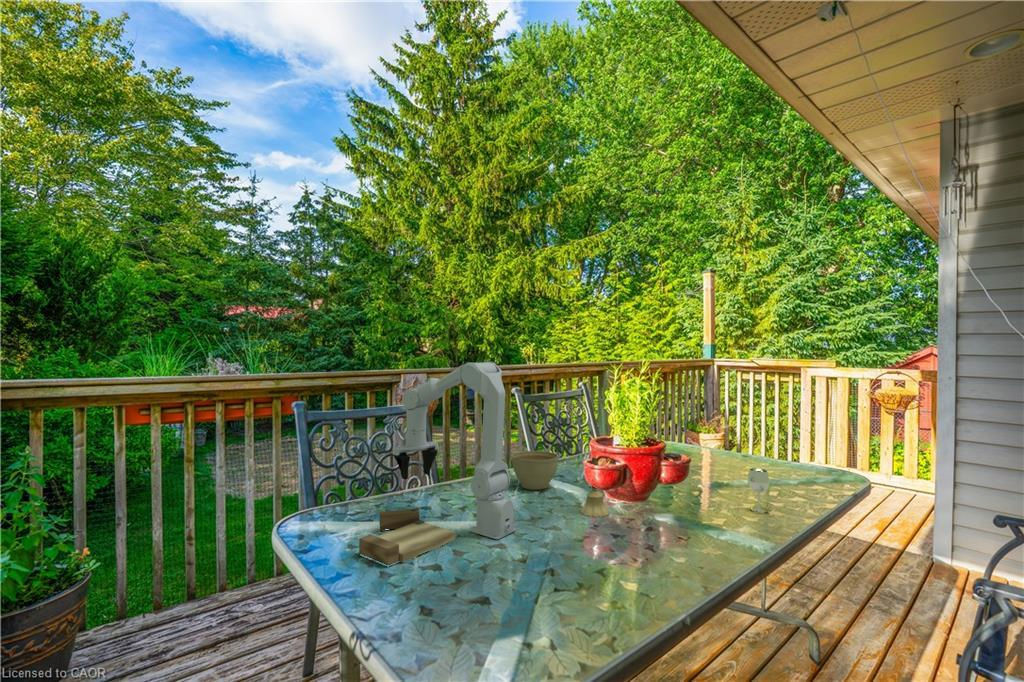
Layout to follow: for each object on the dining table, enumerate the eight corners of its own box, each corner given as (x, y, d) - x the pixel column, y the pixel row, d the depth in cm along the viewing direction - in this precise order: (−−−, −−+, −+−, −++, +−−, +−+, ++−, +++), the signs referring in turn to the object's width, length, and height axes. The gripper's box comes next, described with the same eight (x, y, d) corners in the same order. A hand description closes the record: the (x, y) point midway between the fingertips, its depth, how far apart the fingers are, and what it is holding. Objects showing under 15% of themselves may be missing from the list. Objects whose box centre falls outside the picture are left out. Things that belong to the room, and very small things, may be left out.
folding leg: (419, 526, 131) (419, 510, 131) (380, 531, 128) (380, 514, 128) (417, 523, 134) (417, 507, 134) (379, 527, 130) (379, 510, 131)
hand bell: (601, 519, 138) (601, 462, 139) (575, 513, 143) (575, 458, 144) (614, 511, 145) (614, 457, 145) (589, 506, 150) (589, 453, 150)
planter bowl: (566, 484, 174) (566, 453, 174) (544, 496, 160) (544, 462, 160) (526, 478, 182) (526, 448, 182) (502, 488, 168) (502, 456, 169)
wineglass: (764, 508, 149) (764, 468, 150) (772, 514, 144) (772, 472, 144) (744, 507, 150) (744, 467, 150) (752, 513, 144) (752, 472, 144)
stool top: (455, 540, 123) (455, 523, 123) (391, 569, 106) (391, 550, 106) (419, 528, 130) (419, 513, 130) (353, 553, 114) (353, 536, 114)
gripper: (428, 425, 153) (428, 469, 153) (387, 430, 143) (386, 478, 142) (442, 428, 148) (442, 473, 148) (400, 433, 138) (400, 483, 137)
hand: (415, 476), depth 145 cm, fingers open, 7 cm apart
